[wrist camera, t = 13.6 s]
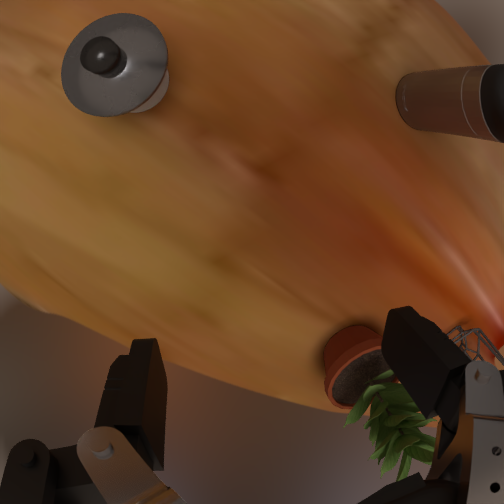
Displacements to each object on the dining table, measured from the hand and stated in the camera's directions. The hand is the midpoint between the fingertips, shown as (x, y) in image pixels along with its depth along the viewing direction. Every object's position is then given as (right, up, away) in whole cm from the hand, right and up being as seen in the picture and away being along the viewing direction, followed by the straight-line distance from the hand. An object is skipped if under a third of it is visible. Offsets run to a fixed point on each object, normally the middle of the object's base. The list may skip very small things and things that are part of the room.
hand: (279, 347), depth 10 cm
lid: (-13, +20, +13) cm, 27 cm away
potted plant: (+17, -15, +45) cm, 50 cm away
